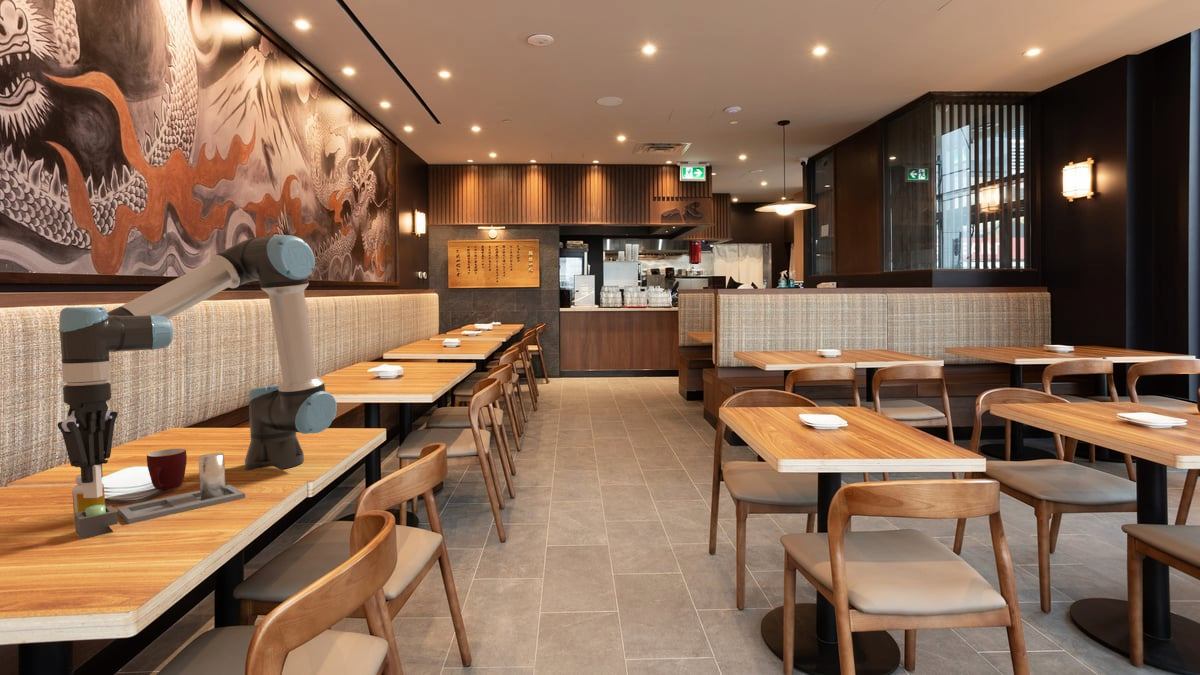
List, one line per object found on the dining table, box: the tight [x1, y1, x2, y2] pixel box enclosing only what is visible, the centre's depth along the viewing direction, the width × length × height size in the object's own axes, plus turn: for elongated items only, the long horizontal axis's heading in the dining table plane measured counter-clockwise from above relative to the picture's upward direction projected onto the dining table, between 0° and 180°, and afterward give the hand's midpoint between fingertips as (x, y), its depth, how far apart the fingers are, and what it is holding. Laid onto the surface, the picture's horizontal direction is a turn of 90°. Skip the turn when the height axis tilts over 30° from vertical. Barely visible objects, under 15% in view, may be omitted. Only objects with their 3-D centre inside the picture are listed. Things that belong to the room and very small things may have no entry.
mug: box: [146, 448, 188, 491], centre depth 153 cm, size 10×8×10 cm
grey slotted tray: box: [116, 484, 246, 525], centre depth 140 cm, size 22×11×2 cm, turn 137°
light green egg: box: [85, 504, 106, 517], centre depth 128 cm, size 3×3×4 cm
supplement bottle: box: [71, 474, 106, 521], centre depth 136 cm, size 5×5×10 cm
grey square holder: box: [73, 505, 119, 540], centre depth 128 cm, size 6×6×4 cm
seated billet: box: [198, 452, 227, 501], centre depth 144 cm, size 5×5×10 cm
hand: (93, 496), depth 128 cm, fingers closed
